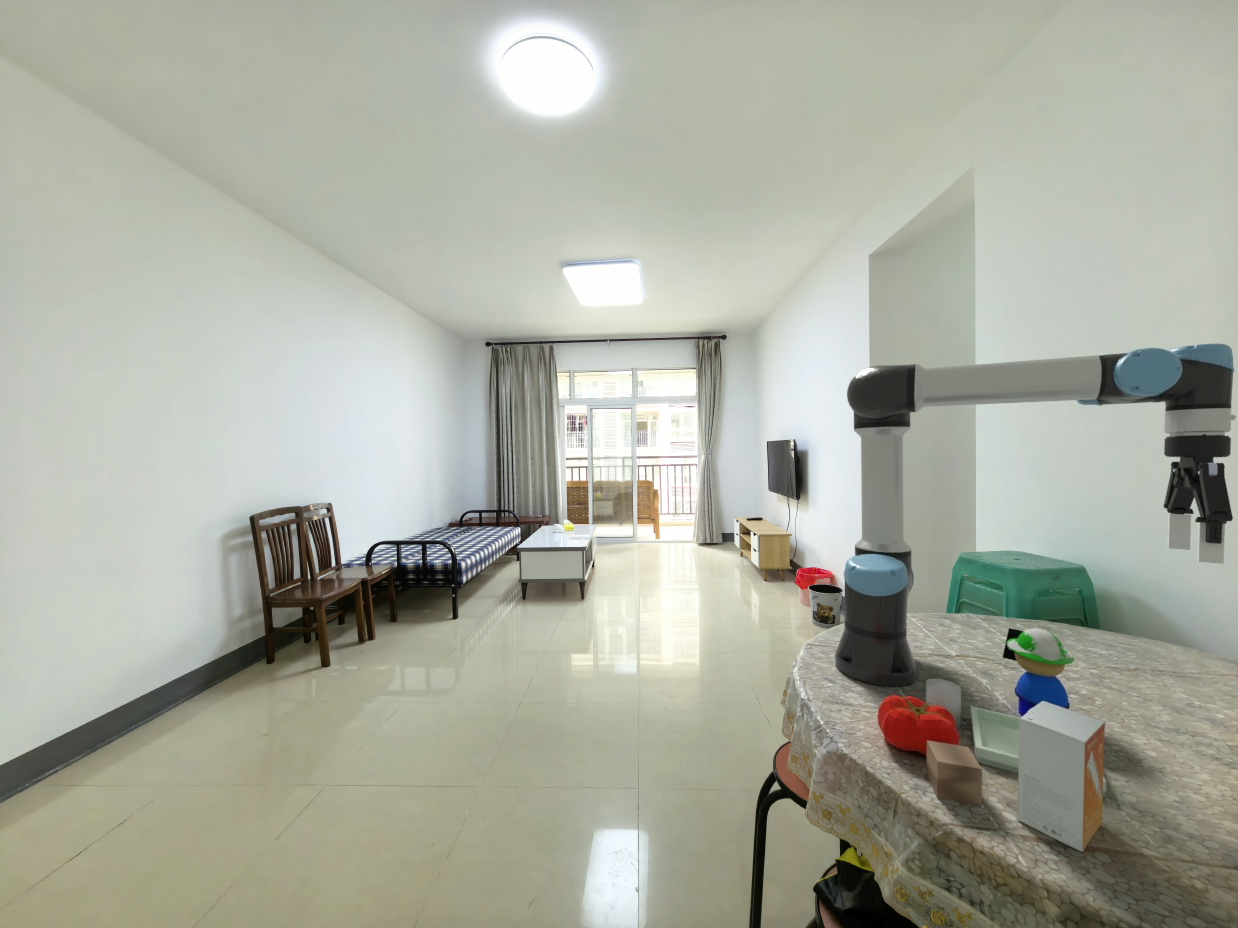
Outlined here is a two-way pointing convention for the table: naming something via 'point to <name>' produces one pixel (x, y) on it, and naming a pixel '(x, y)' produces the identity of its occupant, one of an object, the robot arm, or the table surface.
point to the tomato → (915, 723)
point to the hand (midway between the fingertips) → (1193, 555)
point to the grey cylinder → (945, 697)
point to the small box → (1061, 773)
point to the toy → (1038, 667)
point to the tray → (998, 740)
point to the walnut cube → (954, 773)
